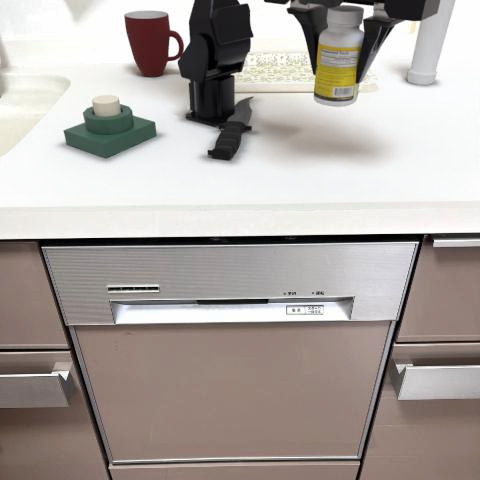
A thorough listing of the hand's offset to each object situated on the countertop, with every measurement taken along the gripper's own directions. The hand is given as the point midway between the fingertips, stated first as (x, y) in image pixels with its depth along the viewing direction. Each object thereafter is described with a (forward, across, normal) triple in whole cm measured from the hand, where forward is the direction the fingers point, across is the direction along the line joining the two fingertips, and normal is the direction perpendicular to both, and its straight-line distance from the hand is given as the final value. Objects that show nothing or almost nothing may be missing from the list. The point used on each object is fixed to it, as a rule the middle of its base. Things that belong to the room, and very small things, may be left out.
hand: (336, 78), depth 57 cm
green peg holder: (+10, -28, -13) cm, 32 cm away
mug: (+10, -45, +16) cm, 49 cm away
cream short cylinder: (+6, -28, -13) cm, 31 cm away
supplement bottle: (+3, 0, 0) cm, 3 cm away
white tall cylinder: (+10, -2, +42) cm, 43 cm away
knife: (+10, -16, +2) cm, 20 cm away
